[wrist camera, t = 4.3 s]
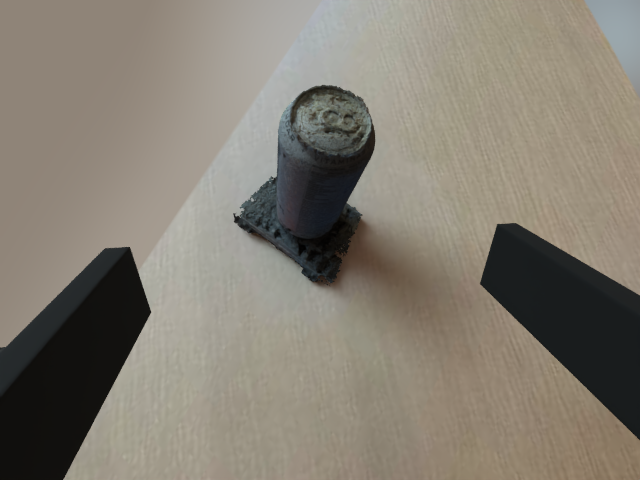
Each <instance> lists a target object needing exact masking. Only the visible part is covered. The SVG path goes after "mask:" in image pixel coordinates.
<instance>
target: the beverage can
mask: <svg viewBox="0 0 640 480" xmlns="http://www.w3.org/2000/svg"><path fill="white" fill-rule="evenodd" d="M368 111H369V110H368V108H367V107H366V105H365V103H364V102H363V99H362V98H361V97H358V96H357V97H356V96H355V95H354V94H353V93H351V92H350V91H346V90H343V89H341V88H340V87H337V86H332V85H331V86H330V85H329V86H326V85H322V86H315V87H312V88H310V89H308V90H306V91H303V92H302V93H301V94H300V95H299V96H298V97H297V98H296V99H295V100H294V101H293V102H291V104H289V106H288V107H287V108H286V110H285V111H284V113H283V115H282V117H281V120H280V124H279V130H278V134H279V135H278V168H277V177H276V178H274V180H271V179H273V177H272V176H271V177H270V179H269V181H267V182H266V183H265V184H263V185H262V186H263V187H262V186H261V187H260V188H261V189H260V190H259V191H258V192H257V193H256V192H255V193H254V194H253V195H251V196H252V197H250V199H251V198H253V199H254V200H255V199H256V201H253V202H252V201H251V200H248V201H247V202H245V203H244V204H242V207H240V208H244V209H245V210H244V211H241V213H242V214H241V215H242V216H241V215H240V217H241V218H240V217H239V216H235V214H236V213H235V214H234V213H233V214H234V218H235V221H234V222H235V223H237V224H238V225H239V227H241V228H242V229H244V230H245V231H247V232H248V233H258V234H259V235H261V236H263V237H264V238H265V239H268V241H271V243H272V244H273V245H275V246H276V248H278V249H279V250H281V251H282V252H283V253H285V254H287V255H288V256H289V257H291V258H293V259H294V260H295V262H297V263H298V264H300V265H301V266H302V267H303V270H302V274H304V275H305V276H307V277H308V278H310V280H311V281H313V282H314V281H315V280H316V279H317V277H318V276H321V275H323V276H324V277H326V279H327V280H328V281H329V283H332V282H334V281H332V279H335V278H337V277H336V274H337V273H338V272H339V271H340V270H338V269H339V266H340V264H341V263H342V262H341V261H342V260H341V258H340V259H339V257H337V255H333V254H334V253H335V251H336V250H338V251H339V253H340V254H341V252H342V253H343V252H344V251H345V252H346V254H347V252H348V251H346V250H347V249H348V247H349V245H348V243H350V242H351V241H350V240H348V239H349V238H351V236H352V235H353V234H355V232H354V231H355V229H357V226H358V223H359V221H360V220H359V219H360V218H361V217H360V216H362V214H360V213H359V212H358V211H357V210H356V208H355V207H354V208H353V207H351V206H350V205H349V204H347V201H348V199H349V197H350V195H351V193H352V191H353V190H354V188H355V186H356V184H357V182H358V180H359V179H360V177H361V175H362V173H363V171H364V169H365V167H366V166H367V164H368V162H369V160H370V158H371V156H372V153H373V151H374V146H375V131H374V126H373V124H372V119H371V116H370V114H369V112H368ZM269 182H271V183H269ZM343 244H344V246H345V247H344V246H343ZM340 246H341V247H340ZM341 248H342V249H341ZM339 249H340V250H339ZM338 251H337V252H338ZM341 255H342V254H341ZM344 255H345V254H344ZM344 255H343V256H344ZM345 256H346V255H345ZM319 279H320V278H319ZM319 279H318V280H319ZM326 279H325V280H326ZM318 280H317V281H318ZM319 281H320V280H319ZM315 282H316V281H315ZM321 282H323V280H321ZM326 282H327V281H326ZM316 283H317V282H316ZM324 284H325V283H324ZM326 285H328V284H326ZM329 286H330V285H329Z"/></svg>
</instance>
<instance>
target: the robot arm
mask: <svg viewBox="0 0 640 480" xmlns="http://www.w3.org/2000/svg"><path fill="white" fill-rule="evenodd" d="M480 284H481V285H482V286H483V287H484V288H485V289H486V290H487V291H488V292H489V293H490V294H491V295H492V296H493V297H494V298H495V299H496V300H497V301H498V302H499V303H500V304H501V305H502V306H503V307H504V308H505V309H506V310H507V311H508V312H509V313H510V314H511V315H512V316H513V317H514V318H515V319H516V320H517V321H518V322H520V323H521V324H522V325H523V326H524V327H525V328H526V329H527V330H528V331H529V332H530V333H531V334H532V335H533V336H534V337H535V338H536V339H537V340H538V341H539V342H540V343H541V344H542V345H543V346H544V347H545V348H546V349H547V350H548V351H549V352H550V353H551V354H552V355H553V356H554V357H555V358H556V359H557V360H558V361H559V362H560V363H561V364H562V365H563V366H565V367H566V368H567V369H568V370H569V371H570V372H571V373H572V374H573V375H574V376H575V377H576V378H577V379H578V380H579V381H580V382H581V383H582V384H583V385H584V386H585V387H586V388H587V389H588V390H589V391H590V392H591V393H592V394H593V395H594V396H595V397H596V398H597V399H598V400H599V401H600V402H601V403H602V404H603V405H604V406H605V407H606V408H607V409H608V410H610V411H611V412H612V413H613V414H614V415H615V416H616V417H617V418H618V419H619V420H620V421H621V422H622V423H623V424H624V425H625V426H626V427H627V428H628V429H629V430H630V431H631V432H632V433H633V434H634V435H635V436H636V437H637V438H638V439H639V440H640V295H638V294H636V293H634V292H633V291H631V290H629V289H628V288H626V287H624V286H622V285H621V284H619V283H617V282H616V281H614V280H612V279H610V278H609V277H607V276H605V275H604V274H602V273H600V272H599V271H597V270H595V269H593V268H592V267H590V266H588V265H587V264H585V263H583V262H581V261H580V260H578V259H576V258H575V257H573V256H571V255H569V254H568V253H566V252H564V251H563V250H561V249H559V248H557V247H556V246H554V245H552V244H551V243H549V242H547V241H545V240H544V239H542V238H540V237H539V236H537V235H535V234H533V233H532V232H530V231H528V230H527V229H525V228H523V227H521V226H520V225H518V224H516V223H510V224H497V227H496V231H495V234H494V238H493V241H492V244H491V248H490V251H489V255H488V258H487V262H486V265H485V268H484V272H483V275H482V279H481V282H480ZM150 314H151V310H150V307H149V304H148V301H147V298H146V295H145V292H144V289H143V286H142V283H141V280H140V277H139V273H138V270H137V267H136V264H135V262H134V258H133V255H132V252H131V249H130V247H122V248H105V249H104V250H103V251H102V252H101V253H100V254H99V255H98V256H97V257H96V258H95V259H94V260H93V261H92V262H91V263H90V264H89V265H88V266H87V267H86V268H85V269H84V270H83V271H82V272H81V273H80V274H79V275H78V276H77V277H76V278H75V279H74V280H73V281H72V282H71V283H70V284H69V285H68V286H67V287H66V288H65V289H64V290H63V291H62V292H61V293H60V294H59V295H58V296H57V297H56V298H55V299H54V300H53V301H52V302H51V303H50V304H49V305H48V306H47V307H46V308H45V309H44V310H43V311H42V312H41V313H40V314H39V315H38V316H37V317H36V318H35V319H34V320H33V321H32V322H31V323H30V324H29V325H28V326H27V327H26V328H25V329H24V330H23V331H22V332H21V333H20V334H19V335H18V336H17V337H16V338H15V339H14V340H13V341H12V342H11V343H10V344H9V345H8V346H7V347H3V348H0V480H63V479H64V477H65V475H66V473H67V471H68V470H69V468H70V466H71V464H72V462H73V460H74V458H75V456H76V454H77V452H78V451H79V449H80V447H81V445H82V443H83V441H84V439H85V437H86V435H87V433H88V431H89V430H90V428H91V426H92V424H93V422H94V420H95V418H96V416H97V414H98V412H99V411H100V409H101V407H102V405H103V403H104V401H105V399H106V397H107V395H108V393H109V392H110V390H111V388H112V386H113V384H114V382H115V380H116V378H117V376H118V374H119V373H120V371H121V369H122V367H123V365H124V363H125V361H126V359H127V357H128V355H129V354H130V352H131V350H132V348H133V346H134V344H135V342H136V340H137V338H138V336H139V334H140V333H141V331H142V329H143V327H144V325H145V323H146V321H147V319H148V317H149V315H150Z"/></svg>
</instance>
